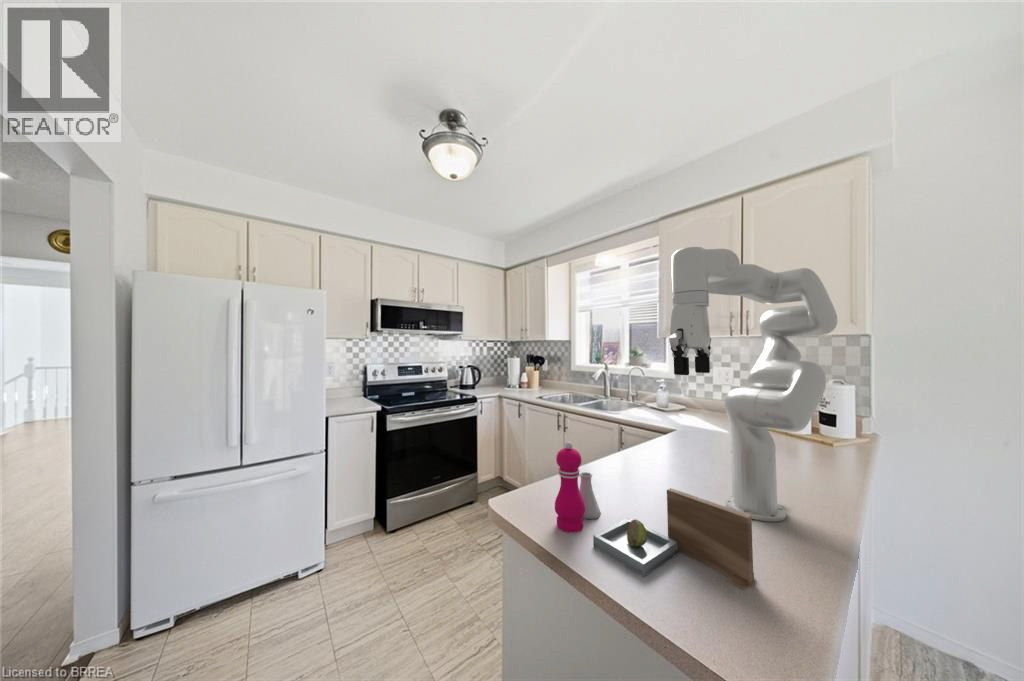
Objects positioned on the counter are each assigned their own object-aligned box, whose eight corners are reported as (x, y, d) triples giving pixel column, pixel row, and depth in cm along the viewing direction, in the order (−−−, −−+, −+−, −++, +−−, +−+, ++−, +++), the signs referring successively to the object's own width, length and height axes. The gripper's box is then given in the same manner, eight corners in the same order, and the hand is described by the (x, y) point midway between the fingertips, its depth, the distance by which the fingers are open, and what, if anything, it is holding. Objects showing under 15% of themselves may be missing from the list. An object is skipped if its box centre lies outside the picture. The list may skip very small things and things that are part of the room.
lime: (639, 554, 67) (639, 528, 67) (619, 542, 71) (619, 519, 71) (652, 546, 69) (652, 522, 69) (632, 536, 73) (632, 513, 73)
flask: (601, 521, 82) (601, 480, 82) (572, 518, 83) (571, 478, 83) (600, 507, 89) (599, 470, 89) (572, 505, 90) (571, 468, 90)
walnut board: (676, 541, 73) (675, 486, 73) (757, 579, 60) (755, 512, 61) (663, 549, 70) (662, 491, 70) (746, 591, 58) (743, 521, 58)
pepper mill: (578, 537, 75) (577, 447, 75) (549, 528, 79) (548, 443, 79) (589, 523, 81) (588, 440, 81) (562, 515, 85) (560, 436, 85)
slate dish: (627, 528, 78) (627, 518, 78) (678, 553, 68) (677, 541, 68) (593, 546, 71) (593, 535, 71) (643, 577, 61) (643, 564, 61)
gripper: (692, 305, 87) (694, 371, 86) (654, 300, 77) (656, 374, 76) (724, 301, 80) (726, 372, 80) (687, 295, 70) (689, 376, 70)
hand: (692, 373), depth 78 cm, fingers open, 9 cm apart
